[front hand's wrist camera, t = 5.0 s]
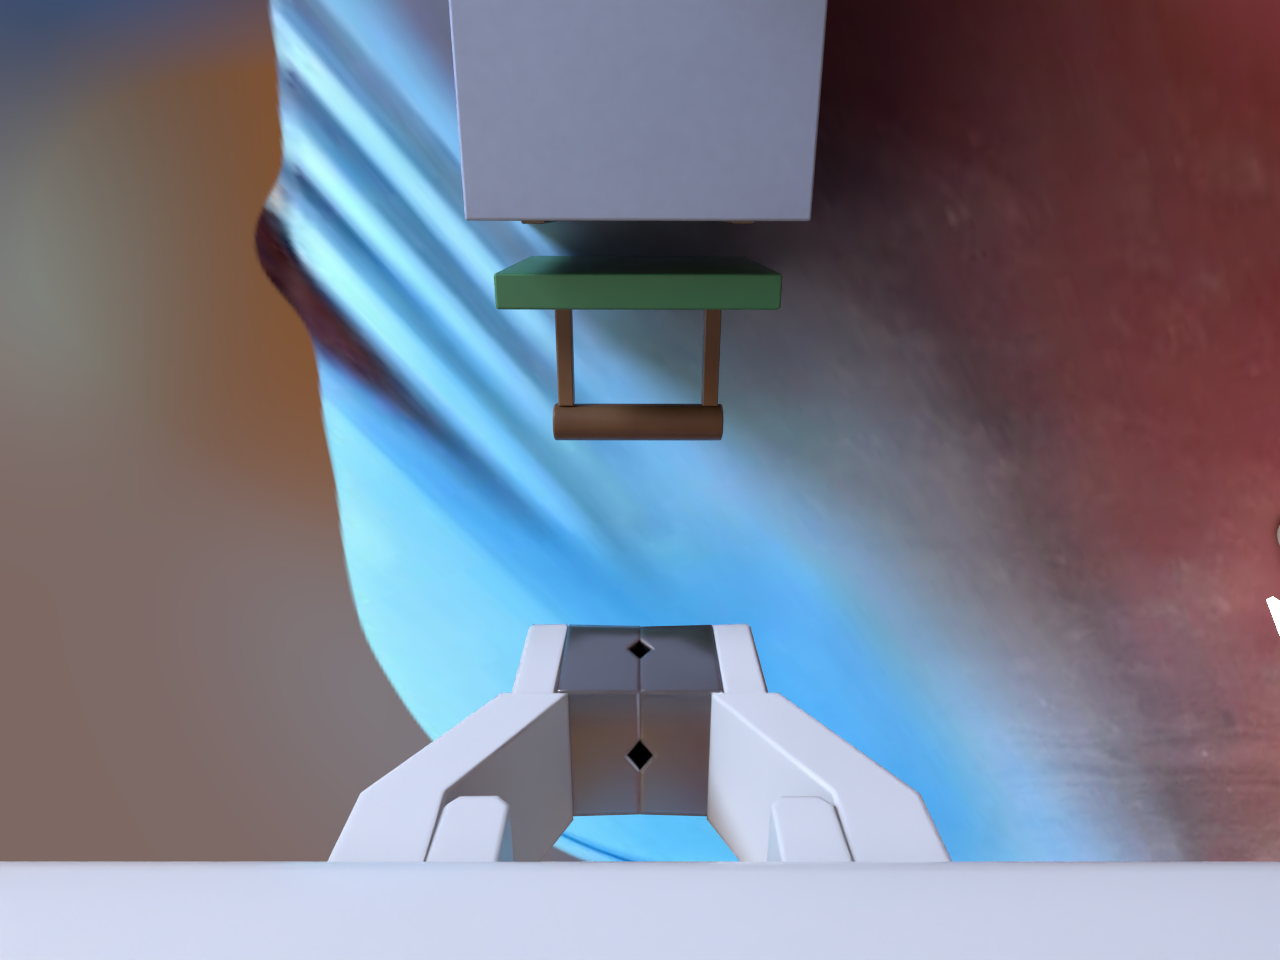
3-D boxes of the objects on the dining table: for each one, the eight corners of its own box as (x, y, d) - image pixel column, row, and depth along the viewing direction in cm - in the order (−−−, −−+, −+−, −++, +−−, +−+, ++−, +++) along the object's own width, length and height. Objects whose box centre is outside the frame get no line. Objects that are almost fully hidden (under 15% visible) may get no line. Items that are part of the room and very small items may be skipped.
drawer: (739, 399, 36) (770, 459, 27) (537, 399, 36) (505, 459, 27) (769, -219, 28) (827, -406, 19) (507, -220, 28) (449, -407, 19)
